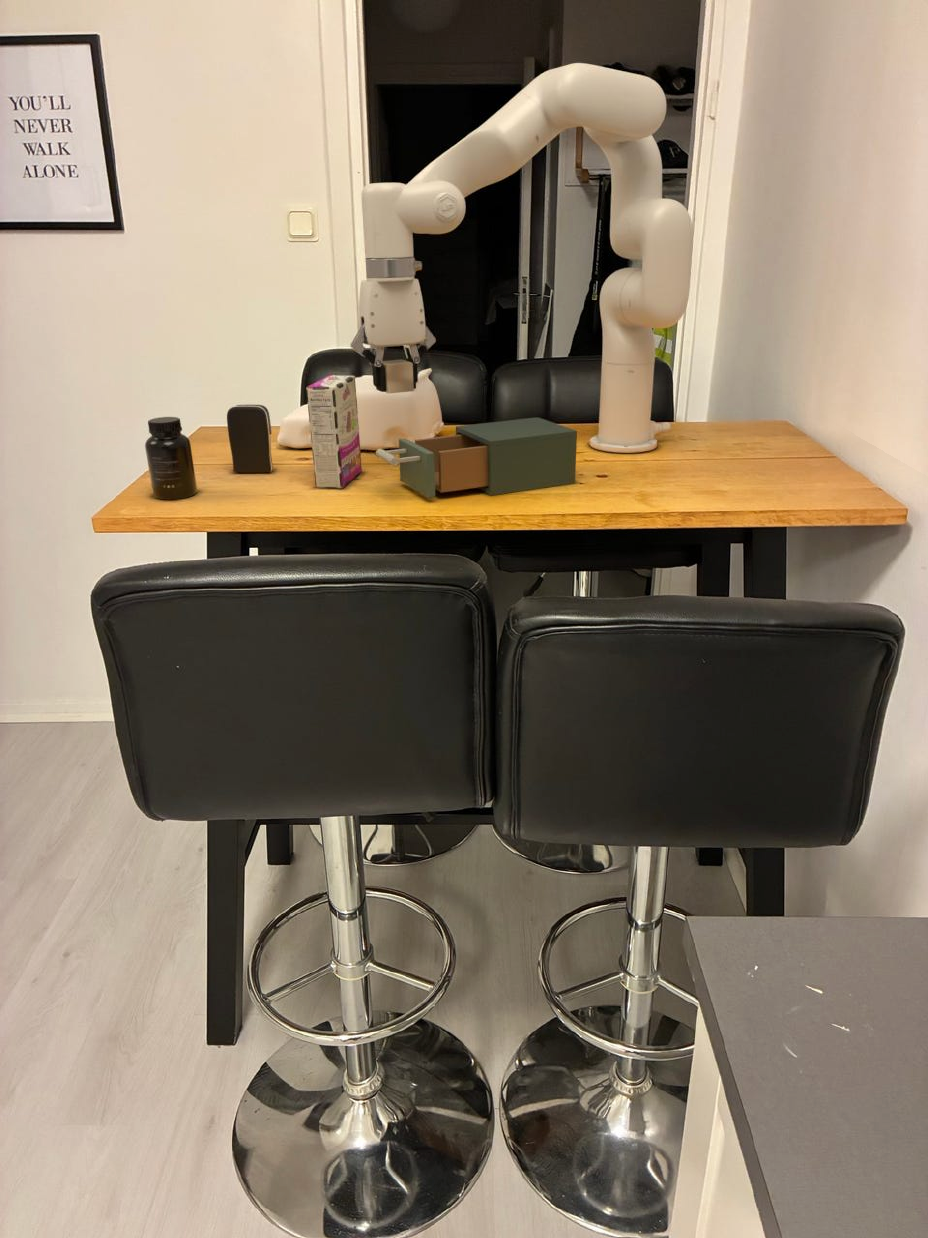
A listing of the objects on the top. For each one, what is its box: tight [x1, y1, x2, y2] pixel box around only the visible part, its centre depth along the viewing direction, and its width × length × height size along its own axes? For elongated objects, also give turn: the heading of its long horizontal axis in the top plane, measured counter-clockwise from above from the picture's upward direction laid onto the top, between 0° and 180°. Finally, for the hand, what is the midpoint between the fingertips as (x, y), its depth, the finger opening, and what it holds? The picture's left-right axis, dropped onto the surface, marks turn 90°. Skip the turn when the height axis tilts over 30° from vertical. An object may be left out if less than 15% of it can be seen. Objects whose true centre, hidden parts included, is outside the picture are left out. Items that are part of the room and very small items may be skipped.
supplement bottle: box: [144, 416, 198, 501], centre depth 142 cm, size 7×7×12 cm
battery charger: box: [226, 404, 274, 474], centre depth 155 cm, size 7×4×11 cm, turn 88°
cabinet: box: [455, 417, 578, 497], centre depth 148 cm, size 16×13×9 cm
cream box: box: [382, 359, 414, 394], centre depth 148 cm, size 4×4×4 cm
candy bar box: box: [305, 374, 363, 490], centre depth 148 cm, size 11×5×16 cm, turn 169°
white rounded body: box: [276, 367, 445, 451], centre depth 175 cm, size 19×30×13 cm, turn 79°
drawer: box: [375, 434, 489, 498], centre depth 143 cm, size 19×11×7 cm, turn 116°
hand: (396, 387), depth 148 cm, fingers closed on cream box, 4 cm apart
